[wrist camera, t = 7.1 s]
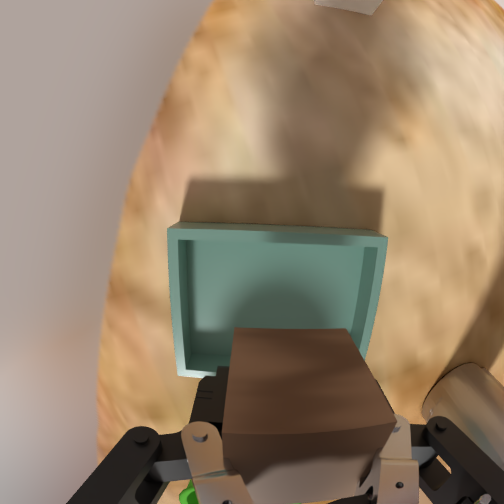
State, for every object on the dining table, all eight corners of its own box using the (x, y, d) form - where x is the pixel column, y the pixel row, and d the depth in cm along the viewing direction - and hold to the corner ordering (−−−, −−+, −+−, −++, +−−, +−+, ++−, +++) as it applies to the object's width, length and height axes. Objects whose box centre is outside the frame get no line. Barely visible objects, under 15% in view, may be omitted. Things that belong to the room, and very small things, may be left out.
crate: (371, 229, 21) (388, 237, 18) (349, 358, 23) (359, 378, 20) (179, 221, 21) (167, 228, 18) (185, 355, 23) (177, 375, 20)
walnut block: (345, 328, 12) (397, 421, 6) (327, 406, 13) (352, 496, 8) (234, 327, 12) (221, 432, 6) (233, 407, 13) (226, 503, 8)
